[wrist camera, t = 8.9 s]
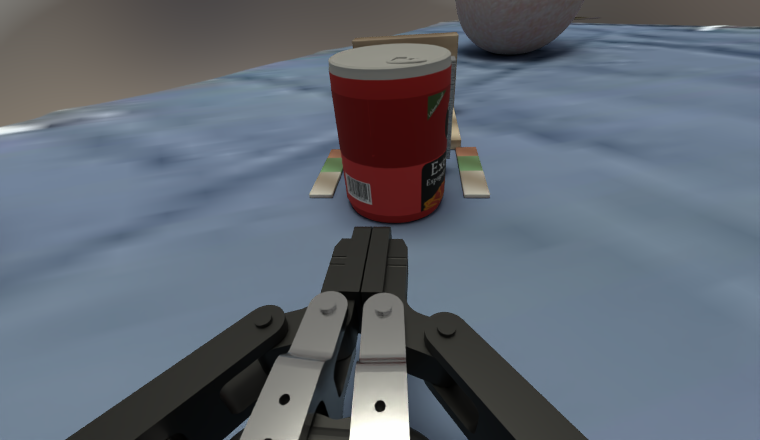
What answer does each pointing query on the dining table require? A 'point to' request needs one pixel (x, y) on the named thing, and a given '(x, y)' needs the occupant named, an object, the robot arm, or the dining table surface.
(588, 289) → the dining table surface
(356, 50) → the canned food
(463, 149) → the wooden stand
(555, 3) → the plant pot
